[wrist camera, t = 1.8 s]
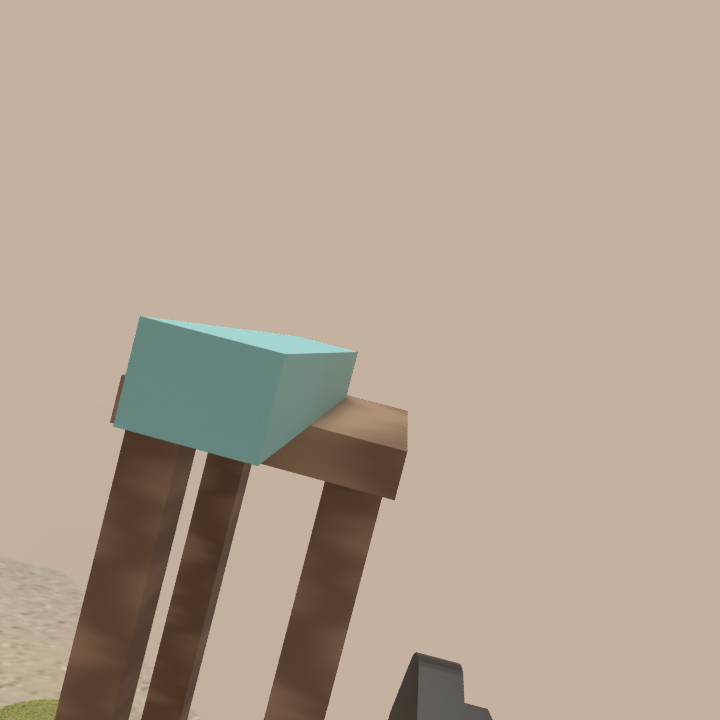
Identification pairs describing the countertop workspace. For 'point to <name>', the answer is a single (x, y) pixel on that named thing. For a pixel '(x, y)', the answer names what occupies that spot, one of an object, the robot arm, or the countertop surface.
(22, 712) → the green flat disc
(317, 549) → the walnut stand
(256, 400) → the teal block
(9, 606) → the countertop surface
